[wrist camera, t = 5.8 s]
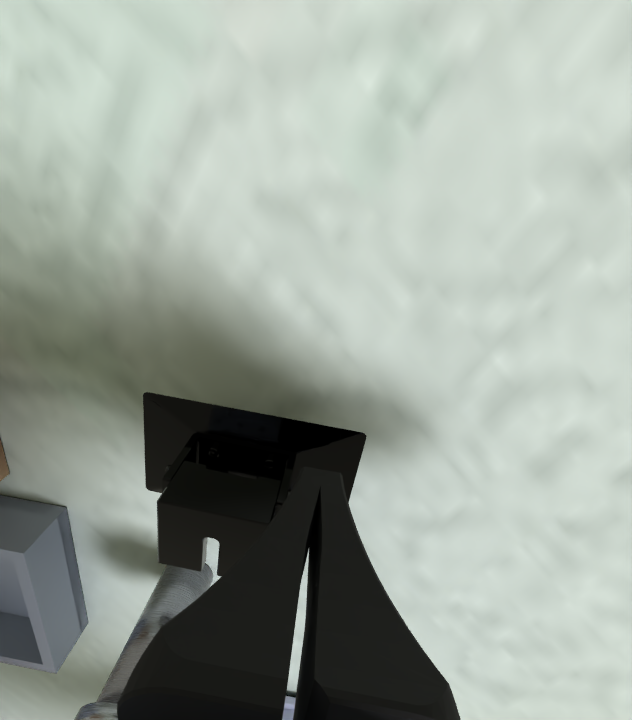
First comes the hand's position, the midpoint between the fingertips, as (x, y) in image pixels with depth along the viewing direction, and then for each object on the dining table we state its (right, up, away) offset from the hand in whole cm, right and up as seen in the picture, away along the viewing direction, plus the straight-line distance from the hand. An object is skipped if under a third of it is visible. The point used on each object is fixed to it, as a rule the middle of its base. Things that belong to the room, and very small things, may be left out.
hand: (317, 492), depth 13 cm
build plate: (-3, 0, +4) cm, 5 cm away
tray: (-17, -6, +7) cm, 19 cm away
